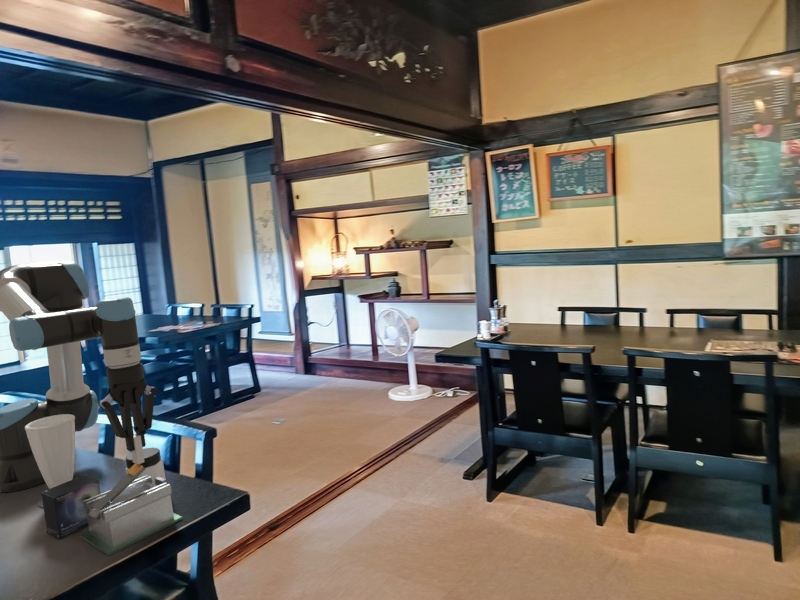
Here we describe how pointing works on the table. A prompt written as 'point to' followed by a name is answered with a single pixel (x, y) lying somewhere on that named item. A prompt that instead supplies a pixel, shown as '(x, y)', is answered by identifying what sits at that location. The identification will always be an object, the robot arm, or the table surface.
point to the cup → (53, 448)
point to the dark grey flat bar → (115, 491)
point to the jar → (149, 464)
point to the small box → (68, 505)
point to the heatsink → (131, 515)
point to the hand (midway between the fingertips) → (138, 462)
